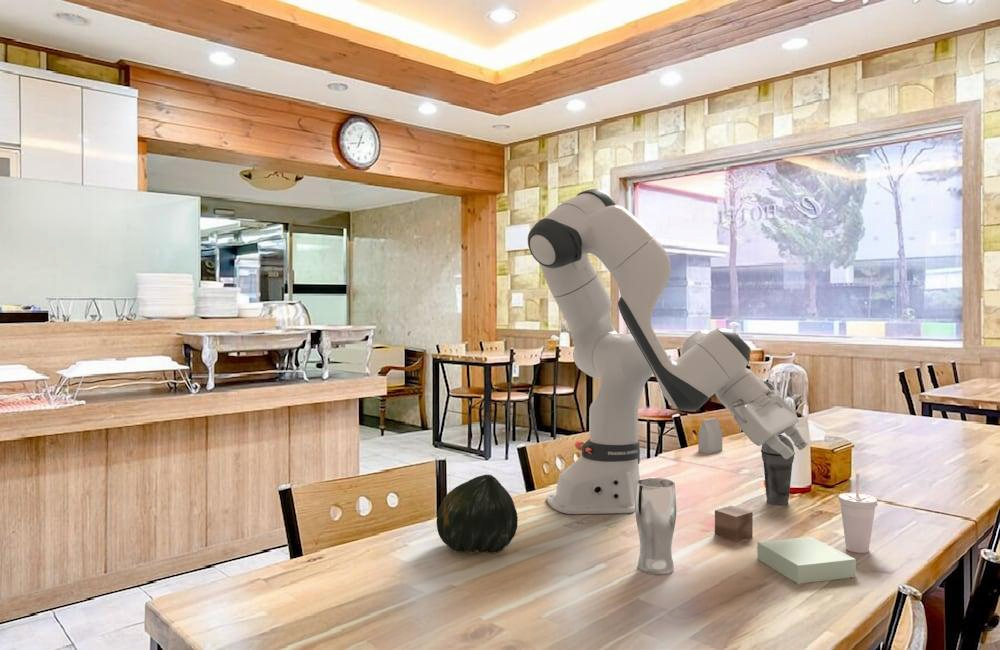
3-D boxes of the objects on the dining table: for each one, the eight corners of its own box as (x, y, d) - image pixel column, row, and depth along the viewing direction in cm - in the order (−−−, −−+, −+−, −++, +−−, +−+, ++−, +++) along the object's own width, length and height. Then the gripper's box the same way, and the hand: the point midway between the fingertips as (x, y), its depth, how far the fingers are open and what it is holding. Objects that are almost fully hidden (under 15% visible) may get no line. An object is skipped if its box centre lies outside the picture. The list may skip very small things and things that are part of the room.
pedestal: (798, 583, 108) (798, 565, 107) (757, 558, 118) (757, 542, 118) (855, 577, 110) (855, 559, 110) (810, 552, 121) (810, 536, 121)
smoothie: (875, 545, 124) (876, 471, 123) (878, 557, 118) (879, 480, 118) (837, 541, 127) (837, 468, 126) (838, 552, 121) (839, 476, 120)
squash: (424, 509, 131) (442, 464, 121) (494, 503, 137) (516, 459, 127) (440, 577, 121) (460, 533, 112) (514, 566, 127) (539, 524, 118)
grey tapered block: (722, 450, 205) (722, 418, 204) (708, 453, 201) (708, 421, 200) (712, 448, 208) (712, 417, 207) (698, 451, 204) (698, 419, 203)
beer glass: (653, 579, 110) (653, 490, 109) (627, 565, 116) (626, 480, 115) (685, 571, 113) (685, 484, 112) (657, 557, 119) (657, 475, 119)
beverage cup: (798, 507, 147) (798, 418, 147) (763, 506, 149) (764, 417, 148) (790, 498, 154) (791, 413, 154) (757, 496, 156) (758, 412, 155)
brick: (736, 542, 127) (736, 516, 126) (714, 535, 131) (714, 510, 131) (752, 537, 129) (752, 512, 129) (731, 530, 134) (731, 505, 133)
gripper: (739, 393, 124) (794, 452, 118) (773, 382, 140) (823, 433, 134) (716, 414, 127) (768, 473, 121) (752, 401, 143) (800, 452, 137)
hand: (797, 452), depth 128 cm, fingers open, 8 cm apart
